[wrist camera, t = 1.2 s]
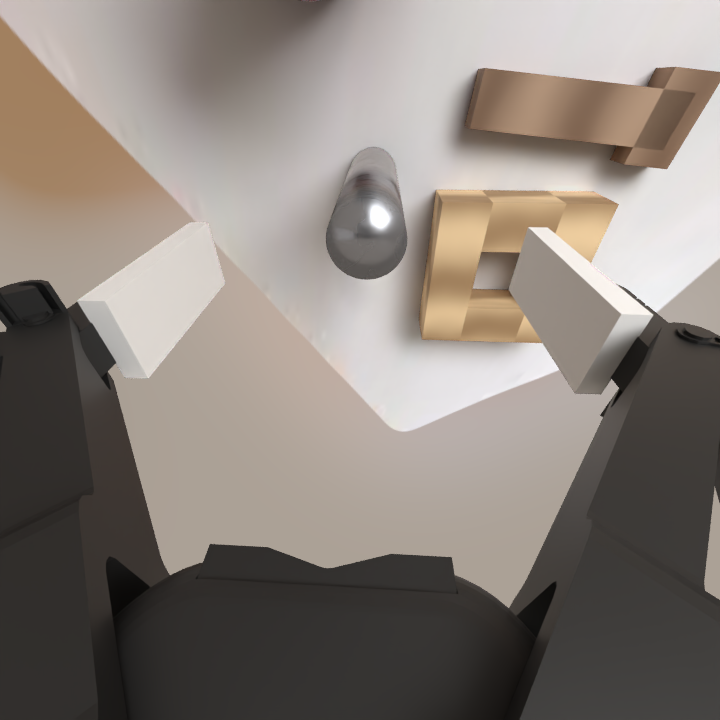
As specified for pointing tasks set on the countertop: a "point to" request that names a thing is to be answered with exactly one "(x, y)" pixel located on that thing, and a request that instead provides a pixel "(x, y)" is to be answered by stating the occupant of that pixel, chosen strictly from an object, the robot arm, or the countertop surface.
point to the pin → (368, 218)
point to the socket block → (496, 234)
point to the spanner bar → (596, 110)
